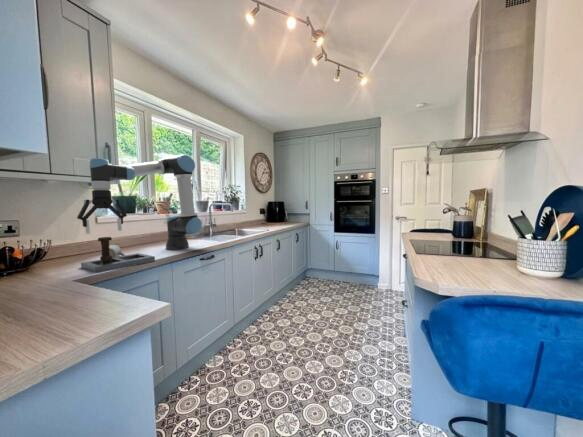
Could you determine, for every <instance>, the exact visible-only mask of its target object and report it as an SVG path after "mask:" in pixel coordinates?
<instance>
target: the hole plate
mask: <svg viewBox="0 0 583 437" xmlns="http://www.w3.org/2000/svg"><path fill="white" fill-rule="evenodd" d="M155 261H156V257H155V256H154V255H150V254H144V253H140V252H138V253H132V254H126V255H124V256H121V255H119V256H118V257H112V259H111V260H110V263H108V264H103V263H102V262H103V261H101V260H100V259H95V260H89V261H83V262H80V266H81V269H84V270H87V271H89V272H93V273H95V274H97V273H102V272H106V271H110V270H116V269H121V268H125V267H131V266H136V265H141V264H147V263H150V262H151V263H152V262H155Z"/></svg>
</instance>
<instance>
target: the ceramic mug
mask: <svg viewBox="0 0 583 437" xmlns="http://www.w3.org/2000/svg"><path fill="white" fill-rule="evenodd" d="M109 251H110V252H109V253H110V254H109V255H111V256H112V257H118V256H124V255H125V253H123V252H122V249H121V247H120V246H119V245H117V244H111V245H110V244H109ZM100 253H101V256H102V252H100Z"/></svg>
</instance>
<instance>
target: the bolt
mask: <svg viewBox="0 0 583 437" xmlns="http://www.w3.org/2000/svg"><path fill="white" fill-rule="evenodd" d="M97 241H98V242H100V244H101V253H102V255H101V256H100V257H99V258H100V259H99V260H101V261H103V262H102V263H103V264H108V263H110V260H111V259H112V256H111V255H109V254H110V253H109V252H110V251H109V246H110V241H112V236H103V237H98V238H97Z"/></svg>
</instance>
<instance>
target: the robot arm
mask: <svg viewBox="0 0 583 437" xmlns="http://www.w3.org/2000/svg"><path fill="white" fill-rule="evenodd" d="M195 169H196V163H195V160H194V159H193V157H191V156H190V155H188V154H185V153H184V154H177V155H170V156H167V157H165V158H164V157H163V158H160V159H155V160H154V161H149V162H142V163H133V164H126V165H120V164H112V163H110V162H109V159H107V158H106V159H105V158H100V157H99V158H97V157H95V158H91V159H90V160H89V170H90V180H91V181H90V182H91V184H90V185H91V190H92V191H91V195H92V196H91V197H92V199H85V200H84V201H83V206H82V207H81V209H80V211H79V213H78V215H77V216H76V219H78V220H81V221H82V222H81V223H82V227H83V228H85V234H91V231H90V230H91V229H90V219H89V217H91V215H93V213H94V212H95V211H96V210H98V209H109V210H110V211H111V212H112V213H113V214H114V215H115V216H116V217H117V218H116V222H117V223H116V224H117V231H122V230H123V229H122V225H123V224H124V218H125V217H127V216H128V215H127V213H126V212H125V210H124V209H123V206H121V204H120V201H119V199H112V190H111V182H114V181H122V180H123V181H133V180H134V179H135V178H138V177H142V176H148V175H149V176H150V175H154V174H158V175H164V174H165V175H166V174H173V176H174V178H176V182H177V191H178V198H179V206H180V214H179V215H173V216H168V217H167V220H166V225H167V240H166V244H165V249H166V250H171V249H173V250H182V249H188V248H189V247H190V245H189V241H188V239H187V235H190V236H191V235H196V234H198V233H199V232H200V231H201V229H202V227H203V222H202V220H201V219H200V218H199V217H198V213H196V212H195V205H194V195H193V188H192V186H193V185H192V176H193V171H195ZM90 204H92V206H91V208H90V209H89V210H88V207H89V206H90ZM112 204H114V205H115V207H116V208H114V206H113V205H112ZM87 210H88V212H86V211H87ZM187 247H188V248H187Z"/></svg>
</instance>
